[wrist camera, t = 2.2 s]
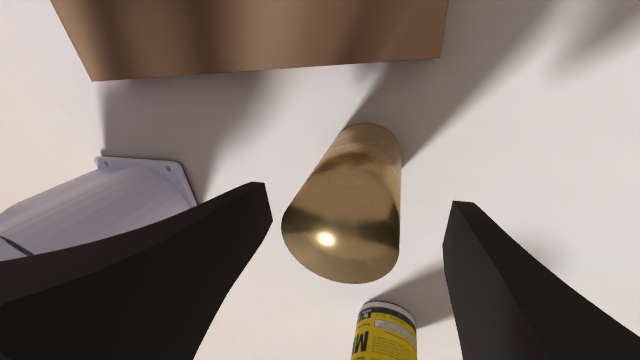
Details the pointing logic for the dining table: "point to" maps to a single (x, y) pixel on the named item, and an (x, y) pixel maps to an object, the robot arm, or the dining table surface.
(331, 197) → the cylinder
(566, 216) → the dining table surface
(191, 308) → the robot arm
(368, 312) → the supplement bottle
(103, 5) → the jig board
